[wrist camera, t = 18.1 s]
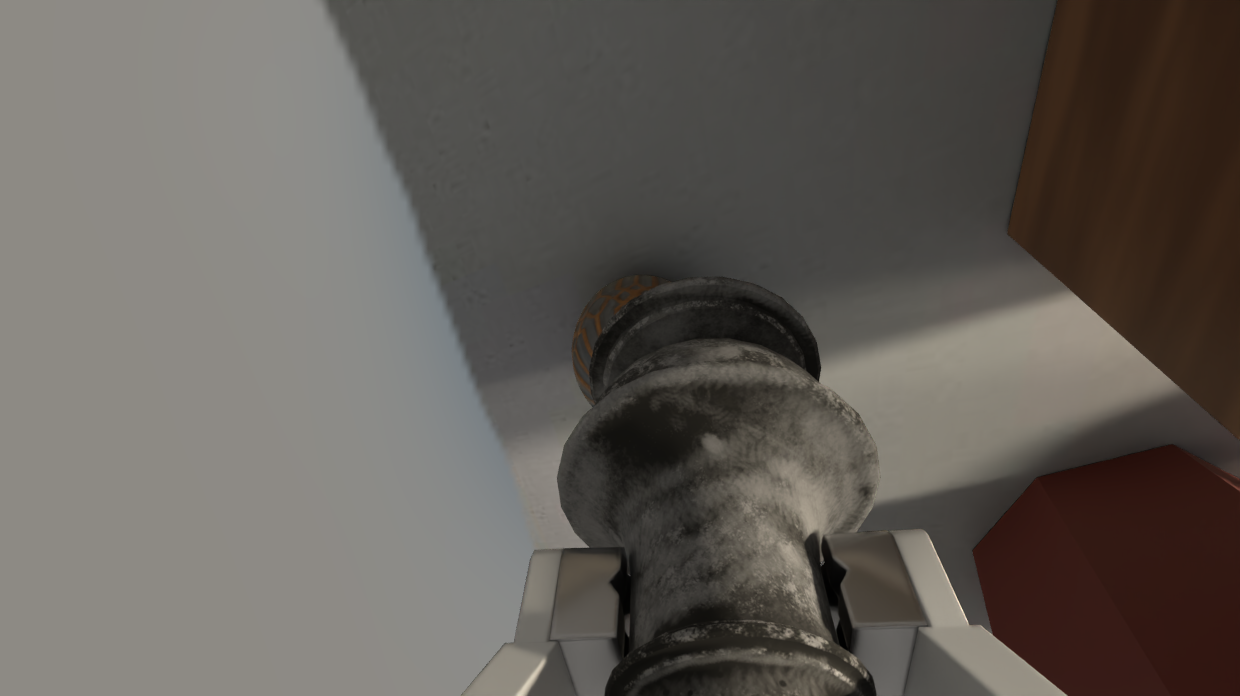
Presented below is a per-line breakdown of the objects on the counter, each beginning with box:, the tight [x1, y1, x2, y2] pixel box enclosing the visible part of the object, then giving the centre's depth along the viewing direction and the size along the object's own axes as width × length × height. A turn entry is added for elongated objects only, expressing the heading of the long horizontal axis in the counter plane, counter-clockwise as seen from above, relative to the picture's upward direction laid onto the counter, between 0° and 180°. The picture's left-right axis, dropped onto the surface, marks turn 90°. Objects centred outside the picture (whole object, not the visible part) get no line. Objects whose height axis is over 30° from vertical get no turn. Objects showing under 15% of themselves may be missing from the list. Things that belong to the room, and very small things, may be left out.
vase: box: [572, 275, 670, 407], centre depth 31 cm, size 7×7×9 cm
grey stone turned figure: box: [557, 277, 880, 696], centre depth 10 cm, size 6×6×12 cm
